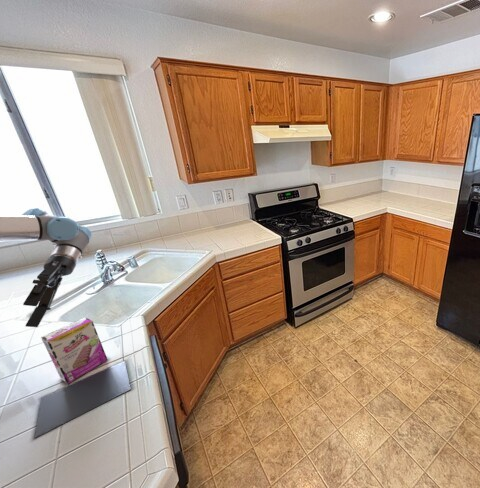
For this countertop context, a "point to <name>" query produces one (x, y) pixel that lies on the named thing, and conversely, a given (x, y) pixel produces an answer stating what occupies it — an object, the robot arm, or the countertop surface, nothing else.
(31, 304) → the robot arm
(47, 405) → the slate placemat
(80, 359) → the candy bar box
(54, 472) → the countertop surface
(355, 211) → the countertop surface
